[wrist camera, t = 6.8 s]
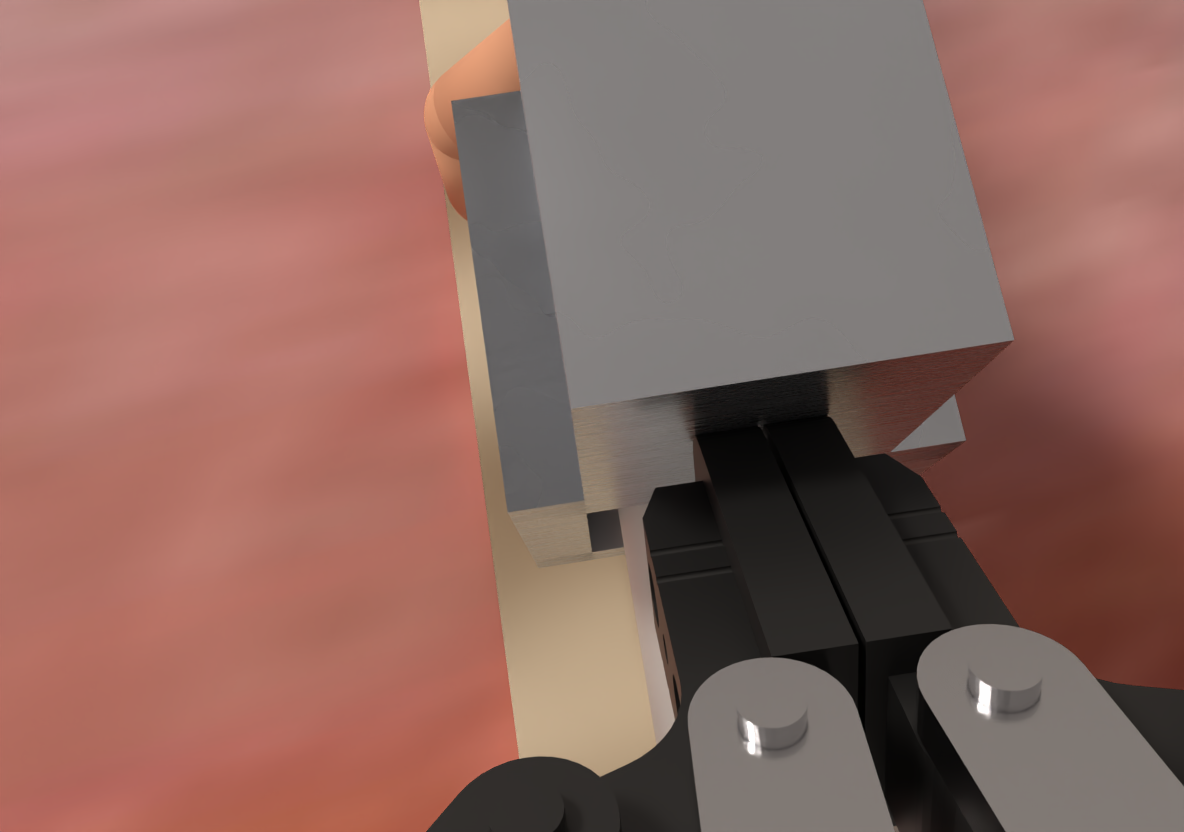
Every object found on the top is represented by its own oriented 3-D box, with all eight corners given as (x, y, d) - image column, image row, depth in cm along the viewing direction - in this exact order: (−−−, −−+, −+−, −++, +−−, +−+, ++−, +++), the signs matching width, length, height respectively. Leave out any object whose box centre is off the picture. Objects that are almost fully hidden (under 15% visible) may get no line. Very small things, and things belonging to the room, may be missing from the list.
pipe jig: (882, 902, 21) (1039, 1020, 13) (626, 944, 21) (634, 1087, 13) (629, -315, 29) (635, -691, 21) (441, -288, 28) (377, -656, 21)
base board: (964, 917, 21) (978, 925, 20) (553, 985, 21) (551, 997, 20) (682, -337, 29) (683, -366, 28) (382, -295, 29) (376, -323, 28)
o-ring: (821, 227, 22) (917, 6, 15) (469, 280, 22) (400, 83, 15) (805, 156, 22) (891, -90, 15) (459, 208, 22) (388, -16, 15)
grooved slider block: (863, 517, 20) (1124, 323, 10) (539, 568, 20) (459, 426, 10) (797, 219, 21) (962, -218, 11) (495, 264, 21) (386, -136, 11)
